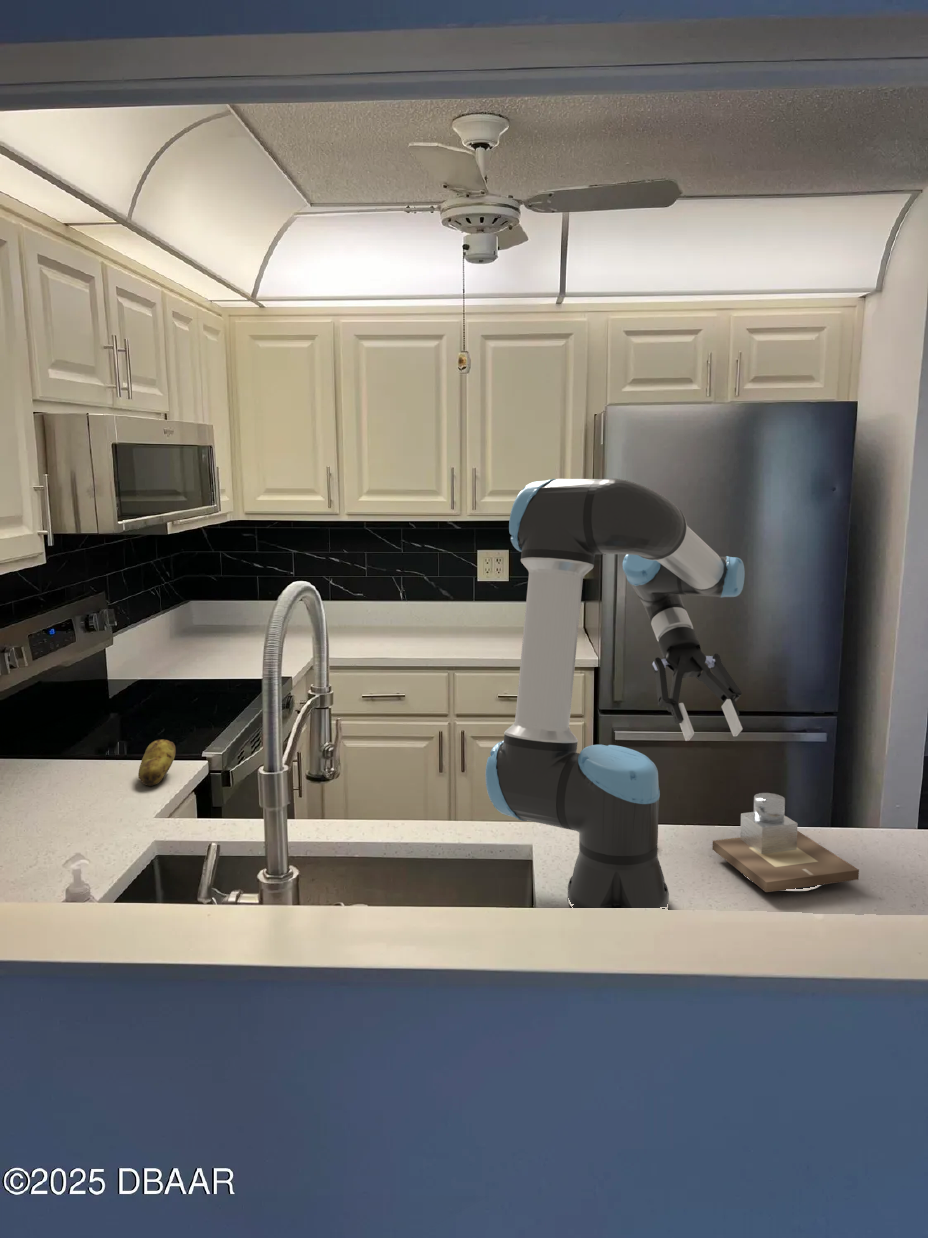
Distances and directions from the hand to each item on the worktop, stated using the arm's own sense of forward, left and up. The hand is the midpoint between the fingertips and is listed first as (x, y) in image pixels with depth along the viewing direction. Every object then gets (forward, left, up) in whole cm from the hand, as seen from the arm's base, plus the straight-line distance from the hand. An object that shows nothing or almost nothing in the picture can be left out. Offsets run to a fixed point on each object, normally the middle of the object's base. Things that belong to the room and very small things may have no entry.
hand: (714, 735), depth 158 cm
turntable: (+21, -8, -15) cm, 27 cm away
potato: (-88, -80, -17) cm, 120 cm away
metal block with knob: (+17, -6, -14) cm, 23 cm away
